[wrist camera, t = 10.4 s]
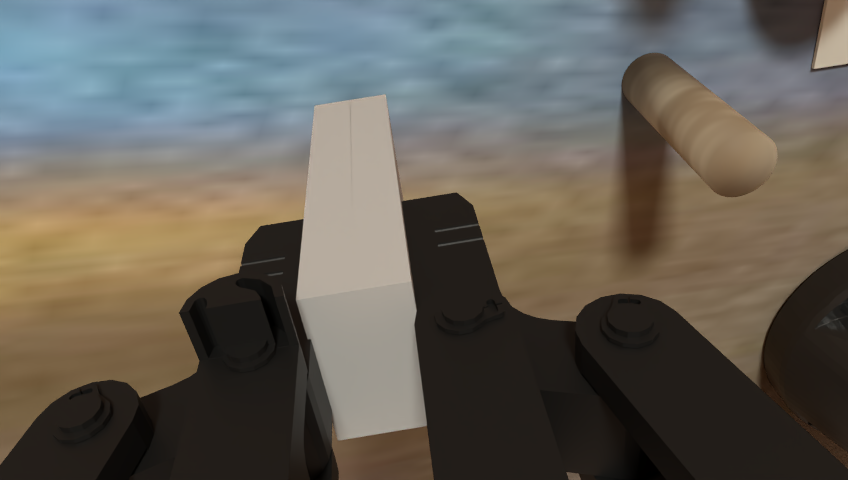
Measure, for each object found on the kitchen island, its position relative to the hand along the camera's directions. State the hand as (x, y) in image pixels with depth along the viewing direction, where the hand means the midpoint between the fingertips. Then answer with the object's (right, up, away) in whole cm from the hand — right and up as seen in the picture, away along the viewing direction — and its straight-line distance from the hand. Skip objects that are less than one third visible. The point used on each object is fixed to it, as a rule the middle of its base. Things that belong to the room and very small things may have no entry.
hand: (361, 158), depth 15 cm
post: (+12, +6, +17) cm, 22 cm away
